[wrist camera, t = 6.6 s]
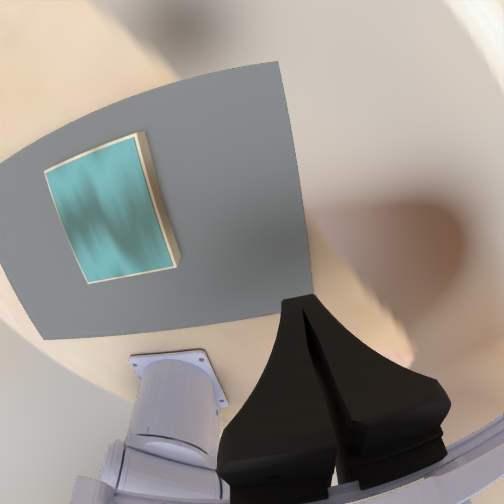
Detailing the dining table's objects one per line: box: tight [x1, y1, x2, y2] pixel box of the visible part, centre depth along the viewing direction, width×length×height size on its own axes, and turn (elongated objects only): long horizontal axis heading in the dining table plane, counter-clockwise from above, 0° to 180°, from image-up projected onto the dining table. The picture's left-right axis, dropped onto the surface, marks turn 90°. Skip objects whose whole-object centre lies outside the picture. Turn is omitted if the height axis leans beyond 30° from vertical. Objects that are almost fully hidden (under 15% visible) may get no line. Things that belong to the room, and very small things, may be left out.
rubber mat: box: [0, 61, 313, 340], centre depth 20 cm, size 18×28×1 cm, turn 101°
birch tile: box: [44, 131, 181, 284], centre depth 18 cm, size 9×2×8 cm
